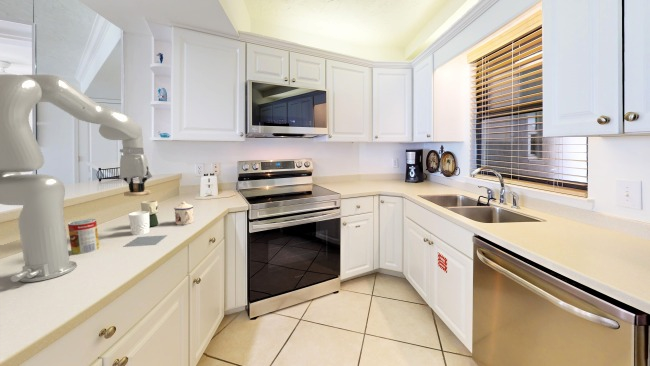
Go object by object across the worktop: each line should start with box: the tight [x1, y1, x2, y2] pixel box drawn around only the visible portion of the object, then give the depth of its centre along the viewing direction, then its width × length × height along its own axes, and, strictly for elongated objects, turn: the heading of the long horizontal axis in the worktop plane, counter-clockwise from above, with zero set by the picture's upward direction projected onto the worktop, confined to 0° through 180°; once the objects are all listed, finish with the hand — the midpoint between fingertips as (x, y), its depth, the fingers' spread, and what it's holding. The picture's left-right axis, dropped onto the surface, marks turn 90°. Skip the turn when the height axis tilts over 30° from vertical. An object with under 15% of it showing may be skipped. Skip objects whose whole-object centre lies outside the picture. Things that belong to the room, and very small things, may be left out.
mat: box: [122, 234, 168, 248], centre depth 109 cm, size 12×12×1 cm
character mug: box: [140, 200, 159, 227], centre depth 131 cm, size 11×7×13 cm, turn 43°
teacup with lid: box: [173, 201, 195, 226], centre depth 137 cm, size 12×9×12 cm
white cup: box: [128, 210, 151, 236], centre depth 119 cm, size 8×8×10 cm
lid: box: [123, 182, 151, 197], centre depth 117 cm, size 10×10×5 cm
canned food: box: [67, 218, 100, 255], centre depth 98 cm, size 8×8×12 cm
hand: (137, 191), depth 117 cm, fingers closed on lid, 3 cm apart
